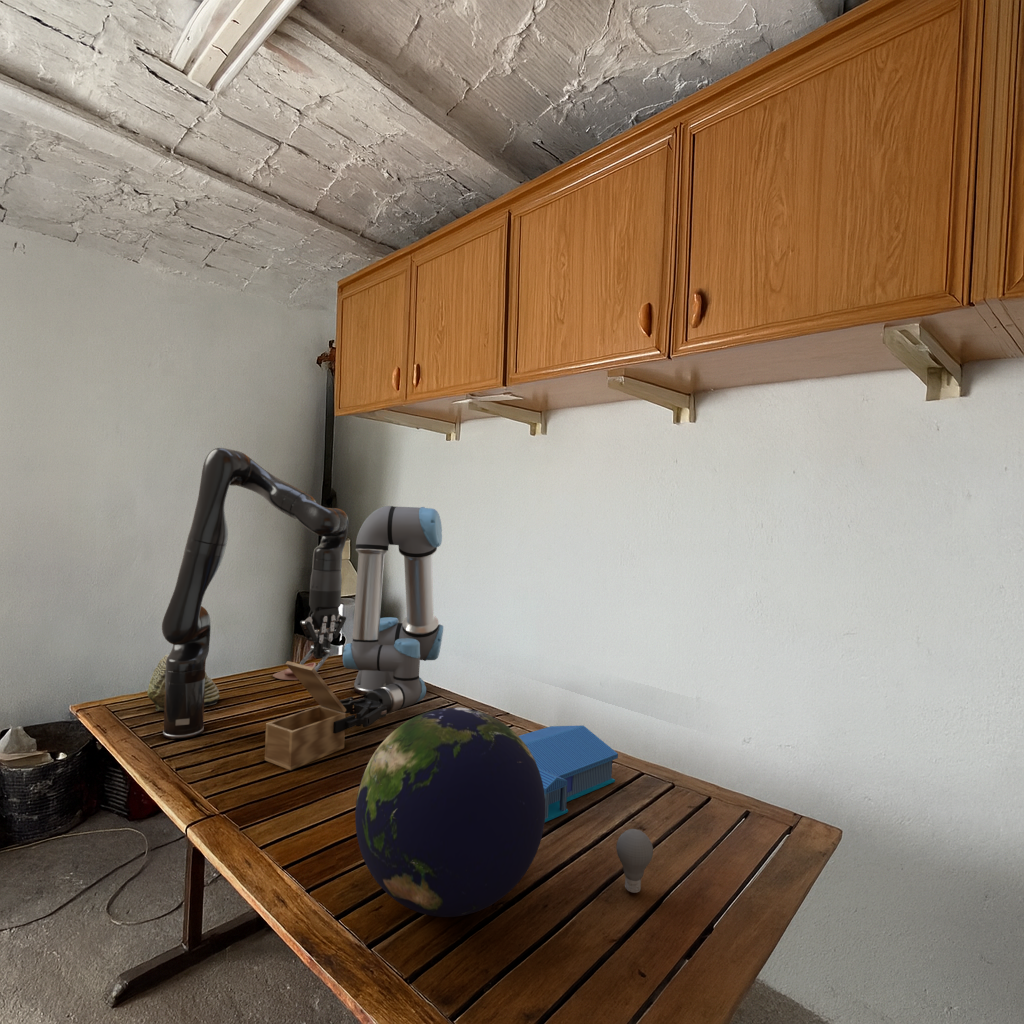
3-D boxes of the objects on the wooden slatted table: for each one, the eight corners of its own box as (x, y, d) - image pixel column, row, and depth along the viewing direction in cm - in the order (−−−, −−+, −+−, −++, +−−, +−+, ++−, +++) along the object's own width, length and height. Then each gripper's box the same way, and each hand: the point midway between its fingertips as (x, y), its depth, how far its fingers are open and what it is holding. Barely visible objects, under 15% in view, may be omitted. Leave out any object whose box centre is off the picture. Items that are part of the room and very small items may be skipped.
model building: (497, 843, 118) (499, 790, 118) (422, 794, 136) (424, 748, 136) (626, 786, 145) (628, 743, 144) (549, 751, 163) (551, 713, 163)
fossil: (144, 707, 182) (145, 655, 182) (212, 696, 194) (213, 647, 194) (151, 716, 175) (153, 662, 175) (221, 703, 188) (223, 653, 188)
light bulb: (610, 879, 108) (613, 822, 108) (644, 879, 109) (647, 822, 109) (619, 902, 102) (622, 840, 102) (655, 901, 103) (658, 840, 103)
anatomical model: (267, 666, 215) (286, 658, 227) (267, 678, 215) (286, 669, 227) (303, 670, 213) (320, 662, 224) (303, 682, 213) (320, 673, 224)
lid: (311, 670, 150) (332, 643, 155) (285, 663, 154) (306, 638, 160) (344, 712, 159) (363, 686, 164) (319, 705, 164) (337, 679, 169)
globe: (309, 928, 93) (317, 725, 93) (415, 832, 121) (421, 676, 120) (495, 996, 82) (506, 766, 81) (565, 873, 110) (572, 701, 109)
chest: (290, 770, 146) (292, 732, 146) (264, 760, 151) (265, 723, 150) (344, 748, 160) (345, 713, 160) (318, 739, 165) (320, 705, 164)
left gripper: (314, 591, 150) (310, 664, 150) (356, 587, 162) (352, 655, 162) (293, 588, 154) (289, 659, 154) (336, 584, 166) (332, 650, 166)
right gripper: (412, 723, 172) (351, 748, 153) (354, 706, 184) (290, 728, 165) (413, 695, 172) (352, 717, 153) (355, 680, 184) (291, 699, 164)
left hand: (321, 656), depth 158 cm, fingers closed
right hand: (320, 723), depth 159 cm, fingers closed on chest, 9 cm apart
